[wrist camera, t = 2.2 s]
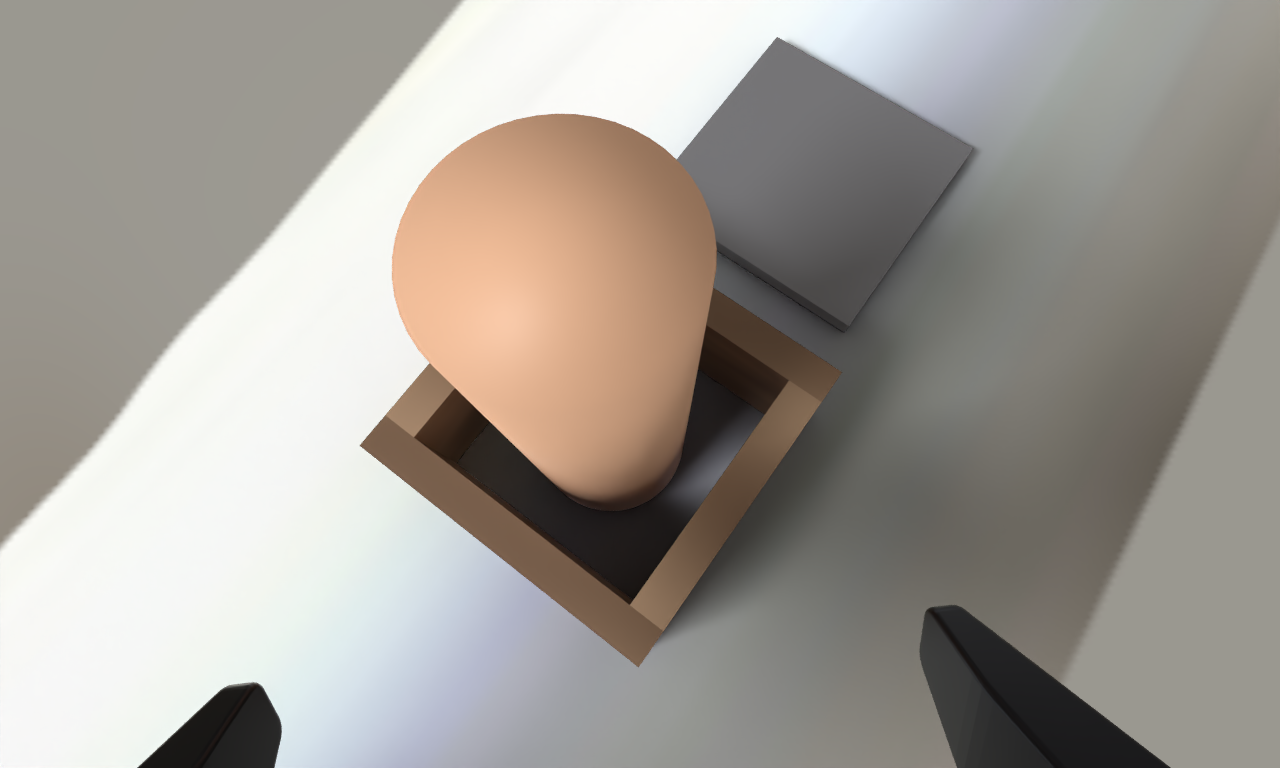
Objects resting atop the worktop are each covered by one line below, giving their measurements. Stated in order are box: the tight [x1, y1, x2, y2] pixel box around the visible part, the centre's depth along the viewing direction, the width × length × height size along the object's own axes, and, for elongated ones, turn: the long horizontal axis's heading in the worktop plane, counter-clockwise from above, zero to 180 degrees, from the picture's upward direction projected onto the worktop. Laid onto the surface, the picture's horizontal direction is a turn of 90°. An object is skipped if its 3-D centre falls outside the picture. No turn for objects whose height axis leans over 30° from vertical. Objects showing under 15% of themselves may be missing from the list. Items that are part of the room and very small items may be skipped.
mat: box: [677, 37, 973, 332], centre depth 24 cm, size 8×8×1 cm
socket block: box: [360, 288, 842, 667], centre depth 20 cm, size 9×9×4 cm
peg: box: [392, 114, 717, 511], centre depth 16 cm, size 4×4×13 cm
